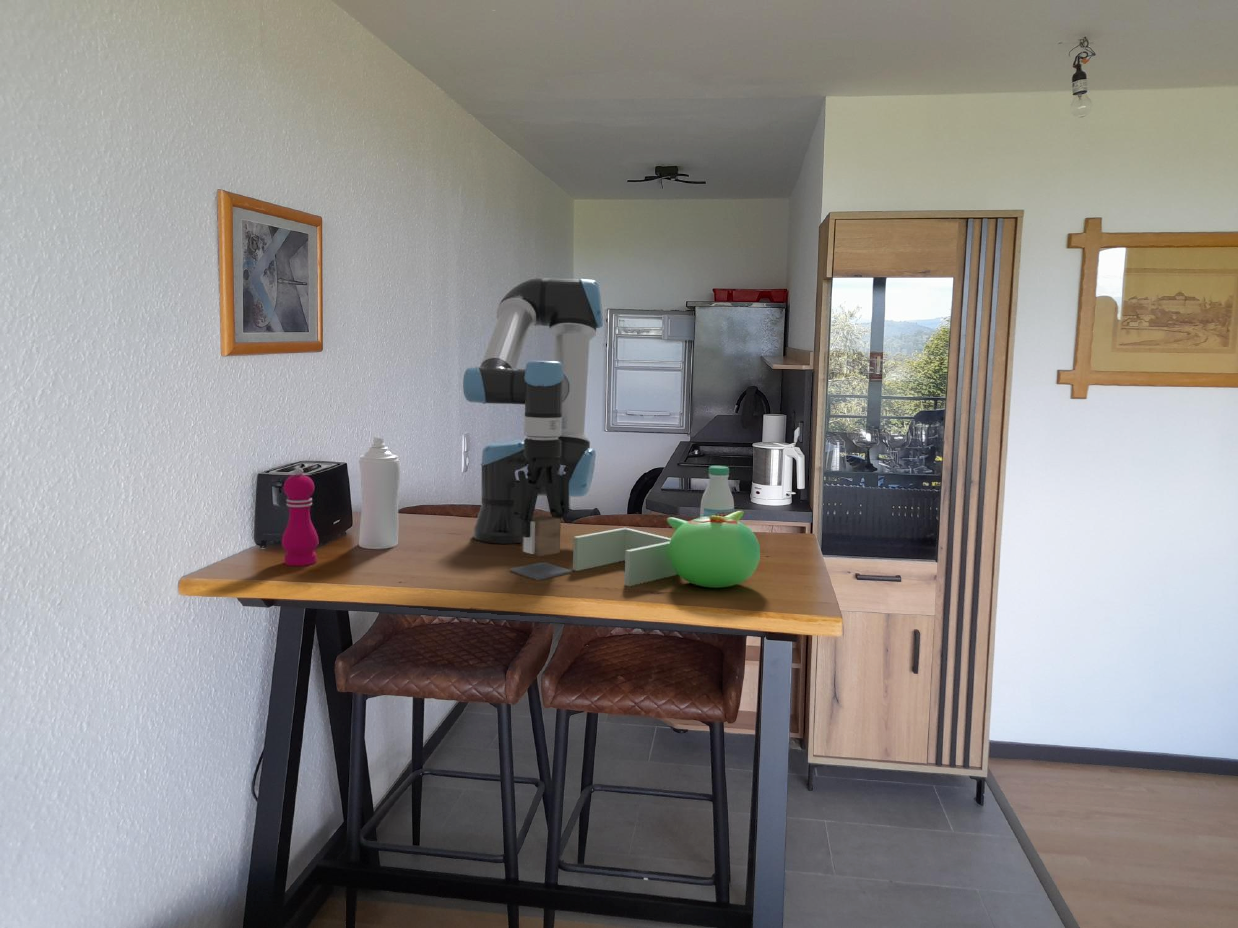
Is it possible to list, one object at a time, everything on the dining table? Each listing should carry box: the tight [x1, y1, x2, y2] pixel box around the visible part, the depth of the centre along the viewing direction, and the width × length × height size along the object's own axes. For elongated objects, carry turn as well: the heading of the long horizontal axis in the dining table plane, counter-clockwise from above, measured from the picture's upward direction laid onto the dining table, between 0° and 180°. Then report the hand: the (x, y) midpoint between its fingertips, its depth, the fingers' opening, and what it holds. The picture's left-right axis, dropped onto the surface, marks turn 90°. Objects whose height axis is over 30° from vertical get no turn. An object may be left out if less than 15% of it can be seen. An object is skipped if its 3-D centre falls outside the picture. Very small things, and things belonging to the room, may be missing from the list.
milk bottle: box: [699, 465, 735, 517], centre depth 201 cm, size 8×8×20 cm
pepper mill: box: [281, 467, 320, 567], centre depth 182 cm, size 7×7×20 cm
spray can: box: [358, 437, 401, 550], centre depth 198 cm, size 12×11×25 cm
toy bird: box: [666, 510, 761, 589], centre depth 175 cm, size 18×17×15 cm
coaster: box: [509, 561, 573, 581], centre depth 182 cm, size 9×9×1 cm
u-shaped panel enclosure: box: [572, 527, 678, 587], centre depth 183 cm, size 15×16×7 cm
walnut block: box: [521, 514, 562, 557], centre depth 180 cm, size 6×6×7 cm
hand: (540, 550), depth 181 cm, fingers closed on walnut block, 5 cm apart
